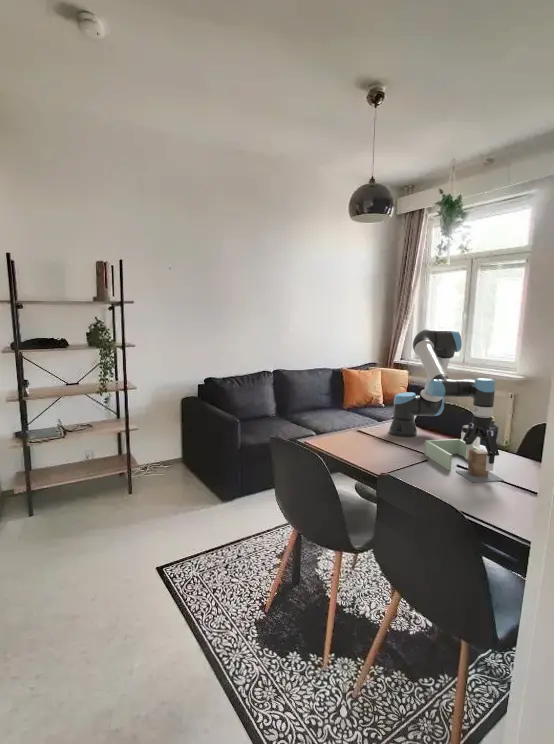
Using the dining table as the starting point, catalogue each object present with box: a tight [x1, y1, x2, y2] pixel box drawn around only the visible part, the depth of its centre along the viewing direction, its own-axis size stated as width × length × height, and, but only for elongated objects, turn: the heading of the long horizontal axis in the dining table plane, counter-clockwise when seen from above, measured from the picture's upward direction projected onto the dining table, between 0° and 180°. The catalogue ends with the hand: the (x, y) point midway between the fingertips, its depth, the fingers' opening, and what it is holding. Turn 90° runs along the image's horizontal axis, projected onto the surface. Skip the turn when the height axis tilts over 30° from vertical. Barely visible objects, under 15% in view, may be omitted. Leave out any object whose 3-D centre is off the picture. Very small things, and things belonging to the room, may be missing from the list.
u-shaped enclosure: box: [423, 438, 481, 471], centre depth 189 cm, size 21×18×7 cm
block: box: [467, 449, 488, 477], centre depth 172 cm, size 5×6×10 cm
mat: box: [455, 469, 505, 484], centre depth 171 cm, size 12×14×1 cm
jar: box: [460, 424, 481, 449], centre depth 204 cm, size 9×8×12 cm
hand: (478, 464), depth 172 cm, fingers open, 13 cm apart
